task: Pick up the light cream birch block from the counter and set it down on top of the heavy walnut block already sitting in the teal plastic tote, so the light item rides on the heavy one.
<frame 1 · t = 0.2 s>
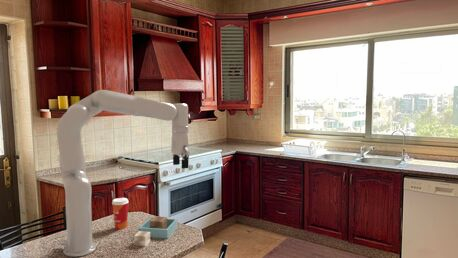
hand: (180, 166, 160), 31 cm above the countertop, tool pointing down, fingers open, 9 cm apart
walnut block: (158, 231, 159), point 1 cm above the countertop, touching tote
birch block: (142, 244, 146), on the countertop
tote: (158, 232, 159), on the countertop
paper cup: (121, 228, 165), on the countertop
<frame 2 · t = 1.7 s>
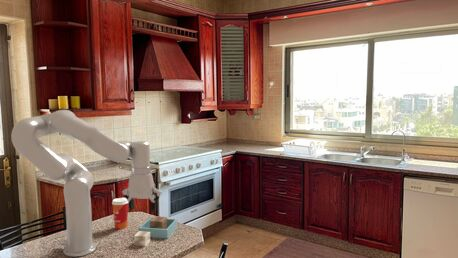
hand: (142, 210, 145), 15 cm above the countertop, tool pointing down, fingers open, 9 cm apart
nothing on the countertop moved.
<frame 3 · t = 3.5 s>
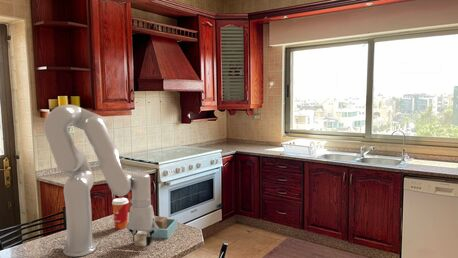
hand: (142, 243, 146), 0 cm above the countertop, tool pointing down, fingers closed on birch block, 4 cm apart
birch block: (142, 244, 146), on the countertop, touching gripper
everything else where it was.
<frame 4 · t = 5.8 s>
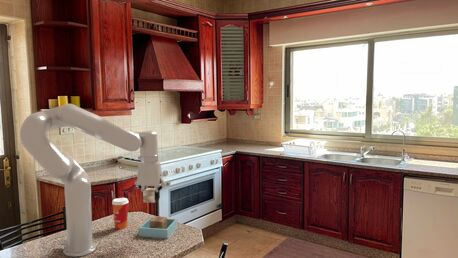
hand: (151, 199, 151), 18 cm above the countertop, tool pointing down, fingers closed on birch block, 4 cm apart
birch block: (151, 200, 151), point 17 cm above the countertop, touching gripper
everything else where it was.
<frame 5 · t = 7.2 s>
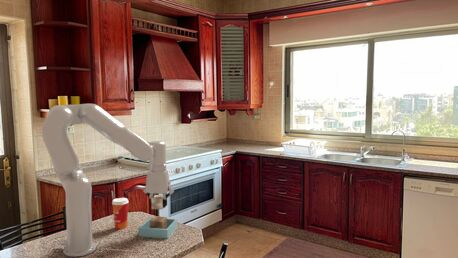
hand: (158, 206, 158), 13 cm above the countertop, tool pointing down, fingers closed on birch block, 4 cm apart
birch block: (158, 207, 158), point 12 cm above the countertop, touching gripper
everything else where it was.
when the fingers open (9 cm above the countertop, at t = 8.2 s): birch block drops 2 cm, resting on walnut block.
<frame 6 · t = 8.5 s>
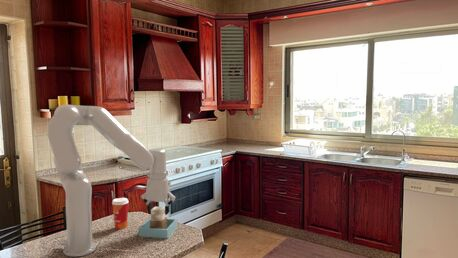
hand: (158, 213, 158), 9 cm above the countertop, tool pointing down, fingers open, 7 cm apart
walnut block: (158, 231, 159), point 1 cm above the countertop, touching birch block, tote
birch block: (158, 218, 158), point 7 cm above the countertop, touching walnut block
everything else where it was.
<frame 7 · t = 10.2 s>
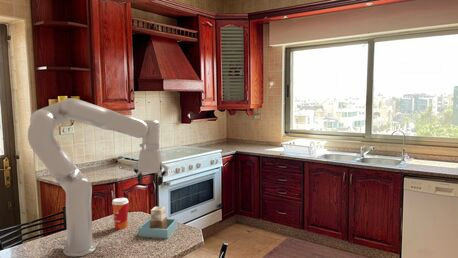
hand: (150, 184, 156), 23 cm above the countertop, tool pointing down, fingers open, 9 cm apart
nothing on the countertop moved.
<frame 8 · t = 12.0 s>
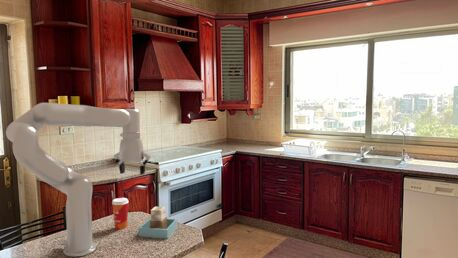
hand: (132, 173, 155), 28 cm above the countertop, tool pointing down, fingers open, 9 cm apart
nothing on the countertop moved.
at the end: birch block 0.1 cm off-centre on the walnut block, point 6.0 cm above the walnut block's base; birch block tilted 0°; walnut block inside the target area on the tote (0.0 cm from its centre), point 0.6 cm above the tote's base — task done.
